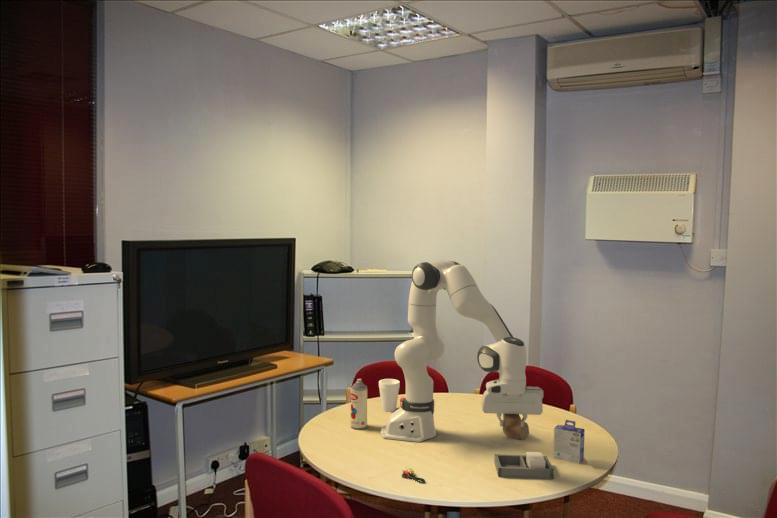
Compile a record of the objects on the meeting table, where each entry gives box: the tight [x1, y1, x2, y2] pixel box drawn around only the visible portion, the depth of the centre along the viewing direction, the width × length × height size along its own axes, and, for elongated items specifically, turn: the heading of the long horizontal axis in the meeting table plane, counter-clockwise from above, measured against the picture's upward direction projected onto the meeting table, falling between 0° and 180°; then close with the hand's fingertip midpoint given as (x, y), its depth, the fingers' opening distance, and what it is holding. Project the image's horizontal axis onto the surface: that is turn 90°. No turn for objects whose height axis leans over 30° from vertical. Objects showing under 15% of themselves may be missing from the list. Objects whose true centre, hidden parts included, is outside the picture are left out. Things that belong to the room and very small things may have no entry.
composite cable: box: [401, 467, 426, 484], centre depth 201 cm, size 10×5×2 cm, turn 33°
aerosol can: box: [350, 378, 368, 431], centre depth 250 cm, size 7×7×20 cm
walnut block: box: [502, 414, 522, 437], centre depth 205 cm, size 5×8×6 cm, turn 176°
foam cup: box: [378, 378, 401, 413], centre depth 274 cm, size 10×9×13 cm
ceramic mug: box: [502, 421, 530, 440], centre depth 242 cm, size 11×8×8 cm
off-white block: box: [525, 451, 546, 468], centre depth 206 cm, size 5×8×5 cm, turn 176°
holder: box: [493, 453, 555, 480], centre depth 206 cm, size 18×12×4 cm, turn 86°
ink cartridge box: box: [552, 419, 585, 465], centre depth 216 cm, size 10×6×14 cm, turn 58°
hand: (511, 426), depth 205 cm, fingers closed on walnut block, 5 cm apart
